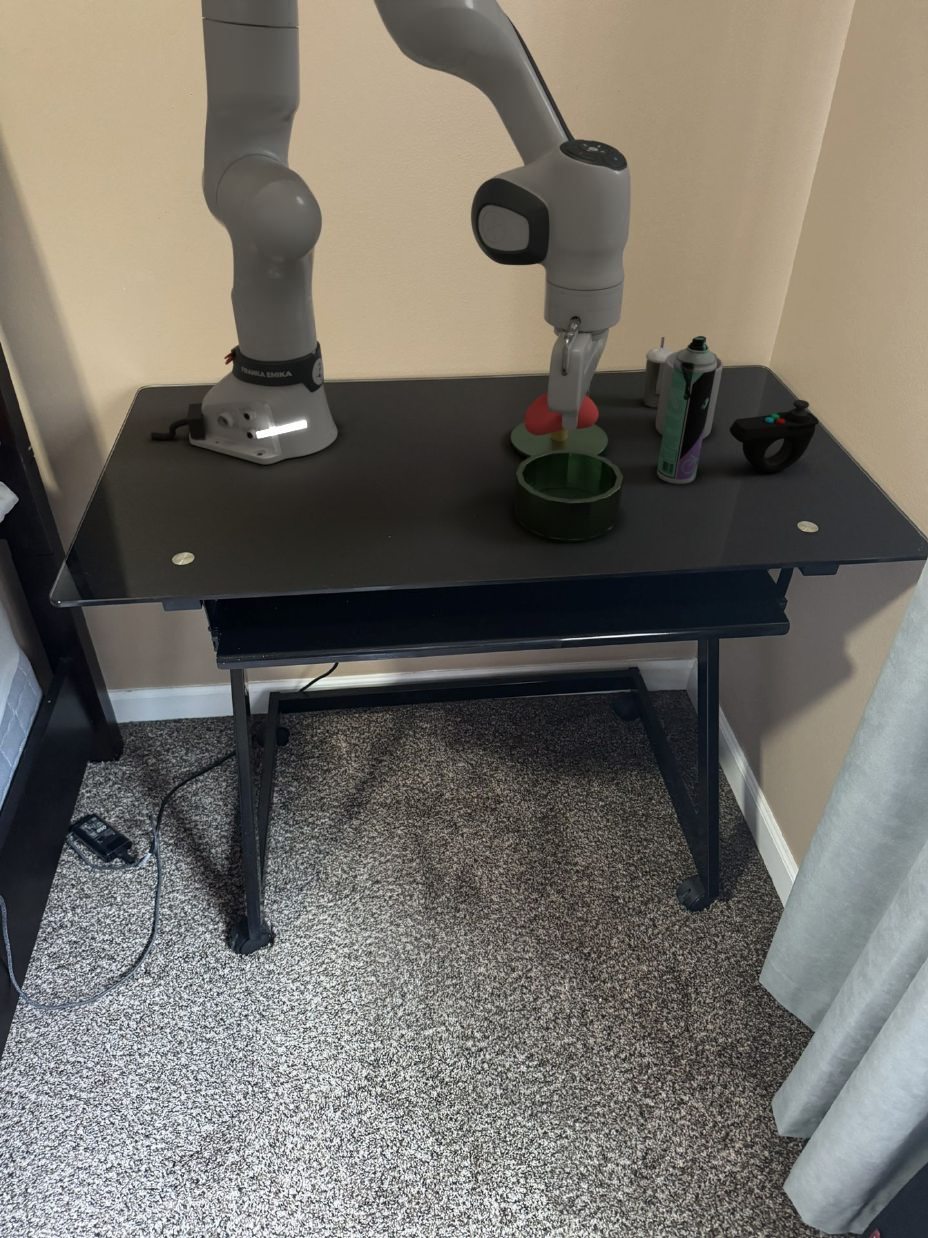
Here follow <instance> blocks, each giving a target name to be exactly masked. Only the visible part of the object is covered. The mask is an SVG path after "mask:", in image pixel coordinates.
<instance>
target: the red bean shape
mask: <svg viewBox="0 0 928 1238" xmlns="http://www.w3.org/2000/svg"><path fill="white" fill-rule="evenodd" d="M547 396H548V392H546V393H543V394H541V395H539V396H538V397H537V398H536V399H534V400H533V401H532V402H531V403H530V405H529V407H528V408H527V410H526V413H525V416H524V422H525V427H526V429H527V431H528V432H530V433H531V434H533V435H537V436H539V435H545V434H549V433H552V432H556V431H559V430H562V429H563V427H562V413H557V412H551V411H550V410H549V409H548V405H547ZM578 412H579V422H578V425H577V428H576V429H581V428H588V427H590V426H592V425H593V424H595V423H596V422H597V421H598V418H599V414H600V413H599V410H598V406H597V405H596V404H595V402H594V401H593V400H592V398H590V396H588V397H587V396H586V395H585V397H584V399H583V402H582V404H581V407H580V409H579V411H578Z"/></svg>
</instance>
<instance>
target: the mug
mask: <svg viewBox="0 0 928 1238" xmlns="http://www.w3.org/2000/svg"><path fill="white" fill-rule="evenodd" d="M677 352H678V351H675V352H674V353H672V354H670V355H668V356H667V358H666V360H665V365H664V371H663V378H662V385H661V392H660V398H659V405H658V407H657V412H656V417H655V430H656V431H657V432H658V434H660V435H662V436H663V430H664V423H665V417H666V411H667V404H668V398H669V392H670V385H671V379H672V372H673V366H674V360H675V358H676V353H677ZM716 362H717V366H716V371H715V377H714V382H713V387H712V392H711V398H710V403H709V408H708V414H707V419H706V424H705V429H704V435H703V440H704V439H706V438H707V437H708V436H709V435H710V434H711V431H712V427H713V421H714V417H715V410H716V404H717V401H718V399H717V398H718V394H719V389H720V384H721V379H722V372H723V367H724V363H723V361H722V360H721V358H719V357H718V356H717V361H716Z"/></svg>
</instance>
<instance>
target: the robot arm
mask: <svg viewBox="0 0 928 1238" xmlns="http://www.w3.org/2000/svg"><path fill="white" fill-rule="evenodd" d="M200 1H201V3H200V4H201V17H202V18H201V20H202V21H201V23H202V35H203V51H204V64H205V65H204V66H205V81H206V119H205V128H204V129H205V130H204V131H205V133H204V148H203V151H204V152H203V168H202V173H201V189H202V195H203V199H204V202H205V204H206V206H207V208H208V210H209V212H210V214H211V216H212V217H213V218H214V220H215V221H216V222H217V223H218V224H220V225H221V226H222V227H223V228H224V229H225V230H226V231H227V234H228V236H229V238H230V243H231V249H232V261H233V262H232V264H233V265H232V266H233V267H232V269H233V278H232V288H231V291H230V299H231V300H230V301H231V305H232V306H231V307H232V312H233V318H234V324H235V330H236V335H237V342H238V344H237V345H236V346H233V348H231V350H230V352H229V353H228V354H226V355H225V356H224V360H226V361H225V362H224V364H225V365H226V366H227V365H229V364H230V363H232V369H231V371H230V372H228V373H227V374H226V375H225V376H223V377H222V378H221V379H220V380H219V381H218V382H217V383H215V384H214V385H213V386H212V387H211V388H209V389H210V390H208V391H207V393H206V394H205V396H204V397H203V399H202V402H197V403H189V404H188V411H187V417H186V418H183V419H178V420H176V421H174V422H172V423H171V424H170V425H169V426H168V427H169V428H168V432H166V433H163V432H155V431H151V432H150V438H151V440H161V441H168V440H171V439H173V438H175V437H176V434H177V432H176V431H177V429H178V428H181V427H184V426H188V430H189V434H188V439H189V444H190V445H193V446H195V447H199V448H203V449H207V450H210V451H213V452H217V453H220V454H224V455H228V456H231V457H234V458H238V459H242V460H245V461H249V462H252V463H256V464H259V465H264V466H265V465H271V464H275V463H277V462H280V461H283V460H286V459H292V458H299V457H304V456H307V455H311V454H314V453H317V452H320V451H322V450H324V449H326V448H327V447H329V446H331V445H332V444H333V443H334V442H335V441H336V439H337V437H338V433H339V431H338V428H337V425H336V423H335V421H334V418H333V416H332V413H331V410H330V407H329V402H328V399H327V395H326V391H325V385H324V382H325V373H324V362H323V354H322V348H321V343H320V342H319V340H318V338H317V337H318V336H317V328H316V318H315V309H314V299H313V297H314V296H313V275H314V274H313V273H314V265H315V262H314V261H315V251H316V245H317V243H318V241H319V239H320V236H321V232H322V227H323V217H322V210H321V208H320V207H321V206H320V204H319V202H318V200H317V198H316V196H315V194H314V193H313V191H312V189H311V187H310V186H309V184H308V183H307V181H305V179H304V178H303V177H302V176H301V175H300V174H299V173H297V172H296V171H294V169H293V170H292V169H291V168H290V166H289V152H290V151H289V150H290V143H291V137H292V130H293V125H294V121H295V116H296V114H297V112H298V110H299V107H300V102H301V75H300V74H301V71H300V70H301V69H300V65H301V64H300V63H301V62H300V22H299V21H300V19H299V18H300V17H299V0H200ZM372 1H373V4H374V6H375V8H376V10H377V12H378V15H379V18H380V20H381V22H382V24H383V26H384V28H385V30H386V31H387V33H388V35H389V37H390V38H391V39H392V41H393V43H394V44H395V45H396V46H397V48H398V49H399V51H400V52H401V53H402V55H404V56H405V57H406V58H408V59H409V60H411V61H412V62H414V63H416V64H417V65H420V66H421V67H424V68H426V69H429V70H433V71H437V72H441V73H445V74H448V75H451V76H453V77H456V78H459V79H461V80H463V81H464V82H467V83H468V84H471V85H472V86H474V87H475V88H477V89H478V90H479V91H480V92H482V93H483V94H484V95H485V96H486V97H487V99H488V100H489V101H490V102H491V104H492V105H493V107H494V109H495V110H496V113H497V115H498V116H499V118H500V120H501V122H502V124H503V126H504V129H506V132H507V134H508V136H509V138H510V139H511V141H512V143H513V145H514V147H515V149H516V151H517V153H518V155H519V156H520V159H521V160H522V163H523V165H522V166H518V167H515V168H512V169H508V170H506V171H503V172H501V173H498V174H496V175H494V176H493V177H490V178H489V179H487V180H485V181H484V182H483V183H482V184H481V185H480V186H479V187H478V188H477V190H476V192H475V194H474V195H473V199H472V203H471V208H470V225H471V230H472V234H473V236H474V239H475V242H476V243H477V246H478V247H479V248H480V250H481V251H482V252H483V254H484V255H485V256H487V257H488V259H490V260H491V261H493V262H495V263H497V264H499V265H504V266H533V265H541V266H542V267H543V268H544V295H543V296H544V297H543V319H544V321H545V322H546V323H547V324H548V325H550V326H552V327H553V333H554V334H555V335H556V337H557V338H556V340H555V342H554V344H553V346H552V350H551V356H550V362H549V373H548V382H547V383H548V385H547V393H548V396H547V405H548V409H549V410H550V411H551V412H557V413H562V427H563V429H566V430H575V429H576V428H577V425H578V422H579V412H578V411H579V409H580V407H581V404H582V402H583V399H584V397H585V395H586V396H587V397H589V394H590V386H591V382H592V380H593V377H594V375H595V372H596V370H597V367H598V366H599V363H600V361H601V357H602V355H603V354H604V351H605V348H606V345H607V342H608V337H609V332H610V328H613V327H615V326H616V325H618V323H620V321H621V319H622V317H621V316H622V308H623V297H624V286H625V278H626V277H625V274H626V273H625V268H624V251H625V248H626V245H627V243H628V240H629V234H630V223H631V209H632V181H631V180H632V179H631V170H630V166H629V163H628V160H627V158H626V157H625V156H624V154H623V153H622V152H621V151H620V150H619V149H617V148H616V147H614V146H612V145H610V144H609V143H608V144H607V143H605V142H602V141H598V140H593V139H591V140H588V139H583V138H582V139H578V138H577V139H575V137H574V135H573V134H572V132H571V130H570V129H569V127H568V125H567V123H566V121H565V119H564V117H563V115H562V113H561V111H560V109H559V107H558V105H557V103H556V101H555V99H554V97H553V95H552V93H551V91H550V89H549V87H548V85H547V83H546V81H545V79H544V77H543V75H542V73H541V70H540V69H539V66H538V65H537V63H536V61H535V59H534V56H532V53H531V52H530V49H529V48H528V46H527V44H526V41H525V39H524V38H523V36H522V34H520V32H519V30H518V29H517V27H516V26H515V24H514V22H512V20H511V19H510V17H509V16H508V15H507V14H506V13H505V12H504V10H503V8H502V7H501V6H500V4H499V3H498V1H497V0H372Z"/></svg>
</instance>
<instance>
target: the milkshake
mask: <svg viewBox="0 0 928 1238" xmlns="http://www.w3.org/2000/svg"><path fill="white" fill-rule="evenodd" d="M664 345H665V336H661V340H660V347H654V348H651V349H649V350H648V351H647V352H646V354H645V376H644V377H645V378H644V379H645V380H644V381H645V382H644V393H643V394H644V395H643V404H644V405H645V406H646V407H650V408H654V409H655V408H658V405H659V398H660V392H661V385H662V378H663V371H664V365H665V360H666V358H667V356H668V355H670V354H672V353H675V352H674V351H673V350H672V349H670V348H664Z"/></svg>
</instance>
